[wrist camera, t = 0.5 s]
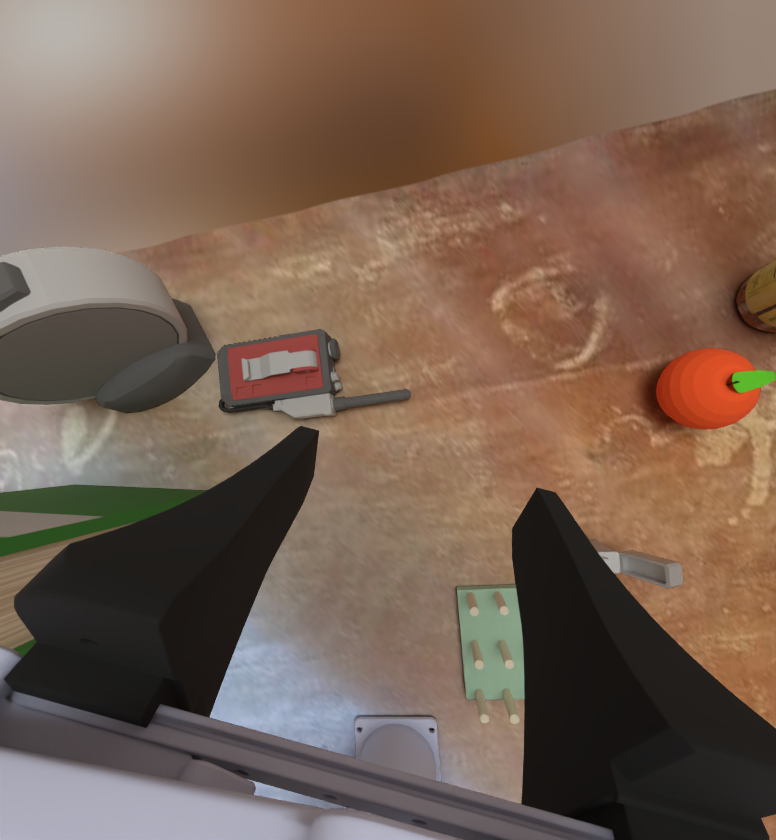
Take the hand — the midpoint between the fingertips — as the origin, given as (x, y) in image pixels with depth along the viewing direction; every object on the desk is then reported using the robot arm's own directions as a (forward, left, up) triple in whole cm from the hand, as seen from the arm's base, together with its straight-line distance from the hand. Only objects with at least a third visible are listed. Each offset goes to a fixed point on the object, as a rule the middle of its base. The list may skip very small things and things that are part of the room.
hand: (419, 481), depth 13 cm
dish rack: (-18, -7, -27) cm, 33 cm away
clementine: (+4, -25, -27) cm, 37 cm away
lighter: (-10, -15, -27) cm, 32 cm away
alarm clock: (+13, +29, -27) cm, 42 cm away
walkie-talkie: (+9, +11, -27) cm, 31 cm away
